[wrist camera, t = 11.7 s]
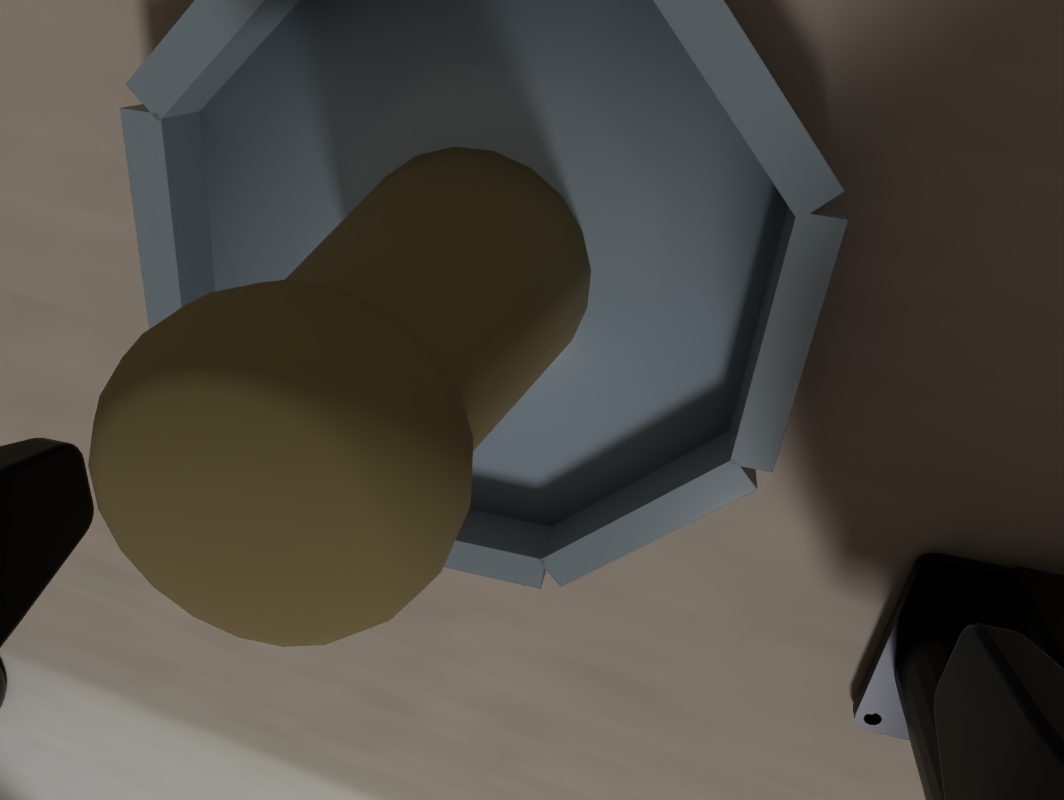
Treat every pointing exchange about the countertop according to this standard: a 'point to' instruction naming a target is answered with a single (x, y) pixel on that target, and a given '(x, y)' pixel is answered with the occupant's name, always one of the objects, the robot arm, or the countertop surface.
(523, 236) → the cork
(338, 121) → the dish
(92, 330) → the countertop surface
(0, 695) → the supplement bottle
